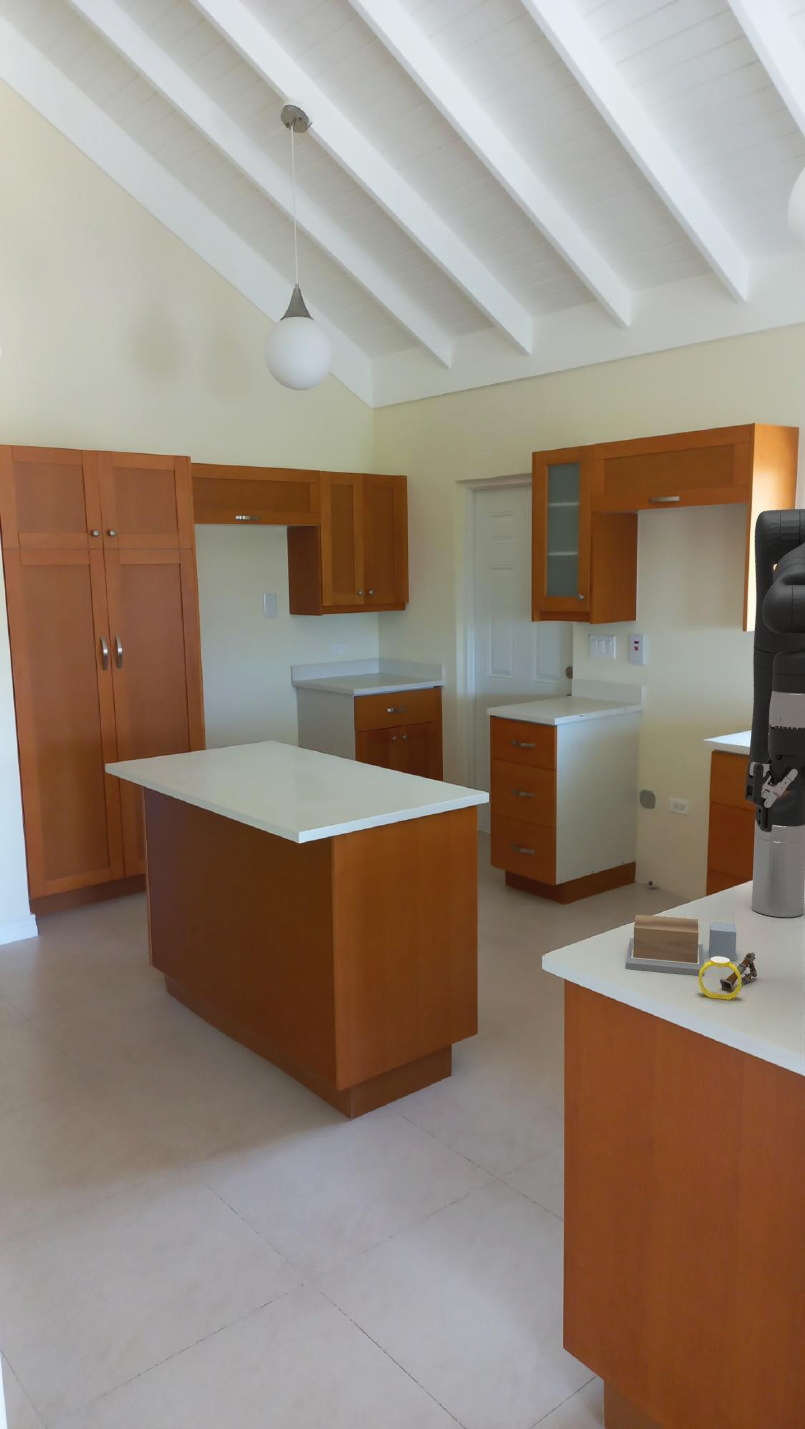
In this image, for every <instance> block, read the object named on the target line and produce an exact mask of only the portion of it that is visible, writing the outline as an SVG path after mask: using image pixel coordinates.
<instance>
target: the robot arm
mask: <svg viewBox="0 0 805 1429" xmlns="http://www.w3.org/2000/svg"><path fill="white" fill-rule="evenodd" d="M754 566H755V567H754V568H755V618H754V619H755V620H754V632H753V636H754V637H753V654H752V655H753V657H752V659H753V661H752V662H753V663H752V664H753V665H752V666H753V667H752V668H753V672H752V673H753V703H752V704H753V705H752V706H753V708H752V709H753V710H752V720H751V731H750V732H751V733H750V741H749V742H750V744H749V745H750V746H749V754H748V757H749V758H748V763H747V770H746V780H745V781H746V782H745V791H744V792H745V793H744V800H746V801H747V802H750V803H752V804H754V805H756V807H755V811H754V812H755V813H754V814H755V815H754V842H753V867H752V869H753V870H752V890H751V891H752V892H751V894H752V895H751V909H752V910H754V911H755V912H756V913H759V914H761V915H765V916H770V917H777V918H795V917H800V916H801V915H803V914H804V911H805V908H804V907H805V508H793V509H792V508H790V509H771V510H770V509H769V510H768V509H767V510H763V511H761V512H760V513H759V514H758V515H757V518H756V520H755V527H754ZM785 791H787V793H785V794H784V795H783V793H784V792H785Z"/></svg>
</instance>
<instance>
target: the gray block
mask: <svg viewBox="0 0 805 1429" xmlns="http://www.w3.org/2000/svg"><path fill="white" fill-rule="evenodd" d="M708 937H709V939H708V941H709V942H708V956H709V957H708V958H709V960H710V959H711V958H712V957H716V956H720V957H726V958H728V959H729V960H730V962H736V954H737V953H736V951H737V950H736V948H737V929H736V924H733V923H723V922H709V936H708Z"/></svg>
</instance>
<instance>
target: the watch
mask: <svg viewBox="0 0 805 1429" xmlns="http://www.w3.org/2000/svg"><path fill="white" fill-rule="evenodd" d="M712 966H713V967H718V968H726V967H728V968H729V969H731V970H732V971H733V972H735V973H736V975H737V977H738V979H737V980H738V983H737V986H736V987H735V989H734V991H733V992H732V991H731V993H728V994H724V993H714V992H710V991H709V990H708V989H707V988H706V987H705V985H704V983H703V979H702V978H703V976H702V974H703V973H704V974H705V971H706V970H707V969H708V968H711V967H712ZM736 967H737V966H735V964H733V963H731V961H730V960H729V959H728V958H726V957H720V956H716V957H712V958H711V959H709V961H707V962H705V963H704V966H703V967H702V968H701V969H700V973H699V976H698V984H699V988H700V990H701V991H702V992H703V994H704V995H705V996H706V997H707V998H709V999H719V1000H727V1001H730V1000H732V999H733V998H735V997H737V996H738V995H739V992H740V990H741V988H742V983H741V981H742V979H741V978H742V975H740V973H739V971H738V969H737V968H736Z"/></svg>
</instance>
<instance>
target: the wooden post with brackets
mask: <svg viewBox="0 0 805 1429" xmlns="http://www.w3.org/2000/svg"><path fill="white" fill-rule="evenodd" d="M754 960H756V953H755V952H748V953H746V955H745V957H744V959H743V961H741V963H740V962H739V963H738V965H737V966H735V967H736V968H737V969H738V971H739V973H740V975H741V985H747V984H749V982H751V981H753V979H752V978H757V977H758V974H757V973H758V971H757V968H756V967H755V963H754ZM747 968H748V969H749V972H748V973H745V972H747ZM743 974H744V975H743ZM742 975H743V976H742ZM737 980H738V977H737V975H736V973H735V972H734V971H733V972H732V973H731V974H730V975H729V976H728V977H727V978H725V979H724V978H721V979H720V980H719V981H720V985H721V989H723V990H727V991H729V992H731V993H732V992H733V991H735V989H734V985H735V983H736V982H737Z"/></svg>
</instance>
